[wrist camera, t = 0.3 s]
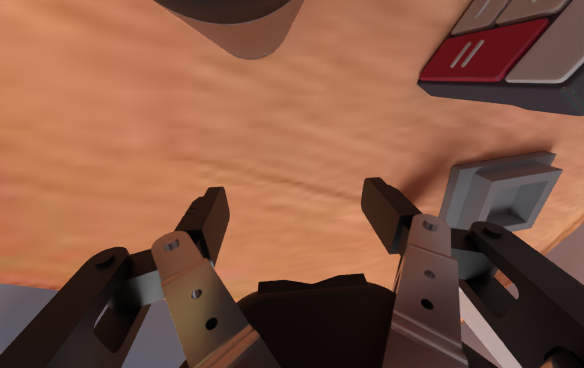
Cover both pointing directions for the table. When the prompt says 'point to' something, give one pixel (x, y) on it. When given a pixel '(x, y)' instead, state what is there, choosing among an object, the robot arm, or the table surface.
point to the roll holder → (499, 191)
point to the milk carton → (486, 333)
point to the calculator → (514, 56)
